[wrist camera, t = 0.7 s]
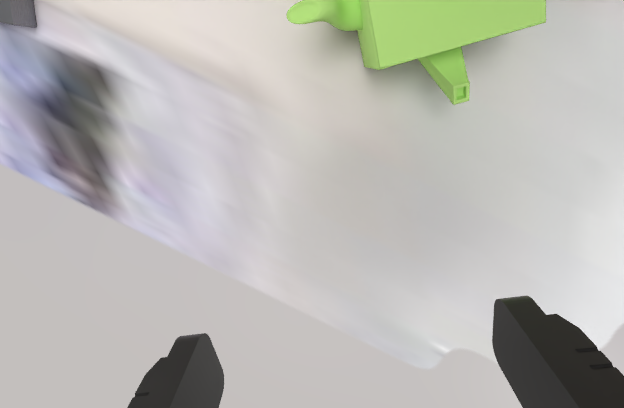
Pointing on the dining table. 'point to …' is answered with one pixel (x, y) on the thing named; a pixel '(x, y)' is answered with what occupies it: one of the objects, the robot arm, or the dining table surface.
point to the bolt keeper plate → (17, 12)
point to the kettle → (423, 30)
